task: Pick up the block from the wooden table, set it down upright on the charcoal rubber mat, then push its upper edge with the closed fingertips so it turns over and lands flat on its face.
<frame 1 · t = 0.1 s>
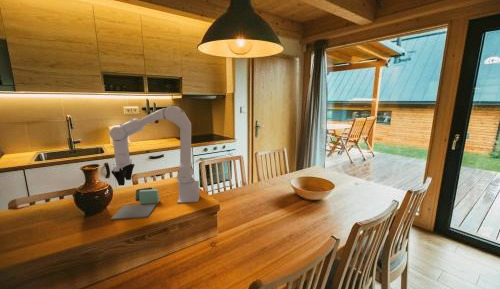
hand: (125, 182, 106), 10 cm above the table, fingers open, 7 cm apart
block: (149, 202, 108), on the table
phone: (144, 195, 118), on the table
mat: (135, 212, 98), on the table
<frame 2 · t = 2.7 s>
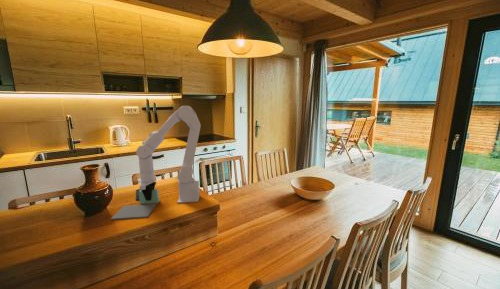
hand: (149, 199, 107), 2 cm above the table, fingers closed on block, 2 cm apart
block: (149, 202, 108), on the table, touching gripper
everything else where it was.
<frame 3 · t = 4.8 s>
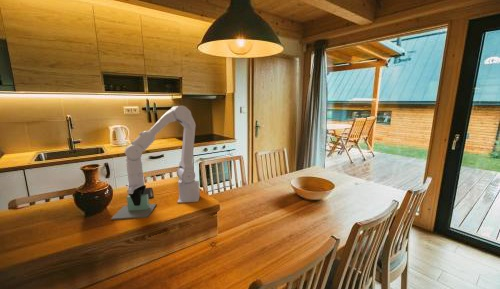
hand: (138, 204, 99), 3 cm above the table, fingers closed on block, 2 cm apart
block: (138, 209, 99), point 1 cm above the table, touching gripper, mat
everything else where it was.
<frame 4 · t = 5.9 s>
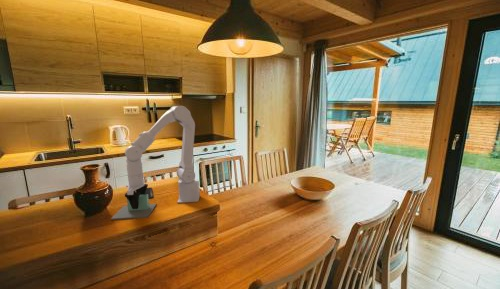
hand: (138, 204, 99), 3 cm above the table, fingers open, 7 cm apart
block: (138, 209, 99), point 1 cm above the table, touching mat
everything else where it was.
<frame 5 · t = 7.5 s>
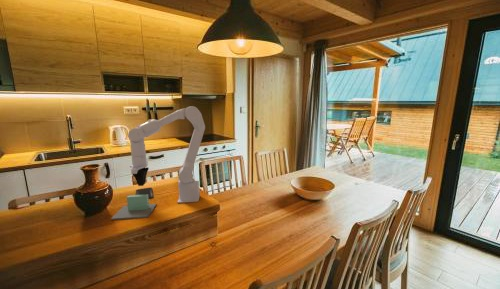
hand: (141, 184, 104), 9 cm above the table, fingers closed
nothing on the table moved.
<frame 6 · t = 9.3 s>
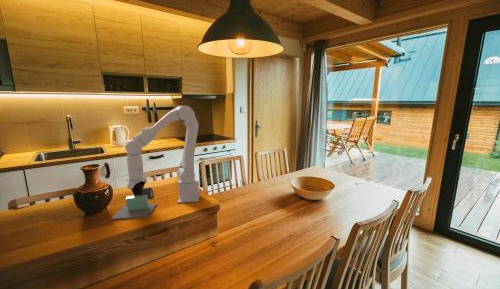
hand: (138, 198, 100), 5 cm above the table, fingers closed
block: (138, 208, 99), point 1 cm above the table, tilted 13°, touching gripper, mat
everything else where it was.
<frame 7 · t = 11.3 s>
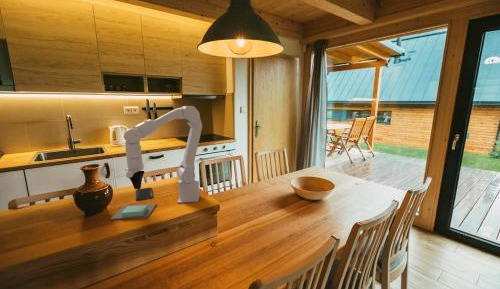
hand: (137, 188, 99), 9 cm above the table, fingers closed
block: (137, 207, 98), point 2 cm above the table, tilted 90°, touching mat
everything else where it was.
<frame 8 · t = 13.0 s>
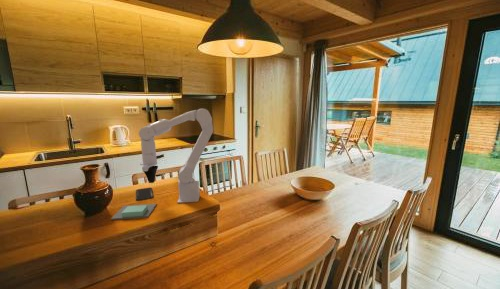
hand: (151, 182, 105), 10 cm above the table, fingers closed
nothing on the table moved.
at the end: block tilted 90°; block inside the target area on the mat (1.1 cm from its centre), point 1.6 cm above the mat's base; the gripper is holding nothing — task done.
